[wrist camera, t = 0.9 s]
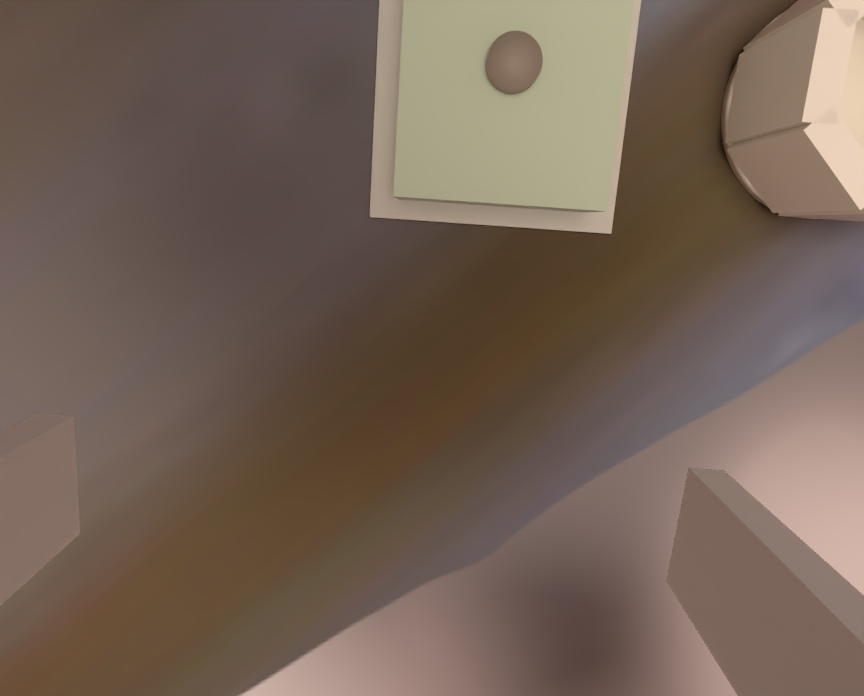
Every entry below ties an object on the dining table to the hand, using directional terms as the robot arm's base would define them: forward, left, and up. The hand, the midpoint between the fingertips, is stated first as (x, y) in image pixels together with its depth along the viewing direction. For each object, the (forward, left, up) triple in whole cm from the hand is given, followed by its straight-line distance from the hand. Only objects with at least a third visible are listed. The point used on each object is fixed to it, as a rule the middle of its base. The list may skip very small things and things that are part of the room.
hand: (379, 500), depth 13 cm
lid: (-13, +4, -21) cm, 25 cm away
